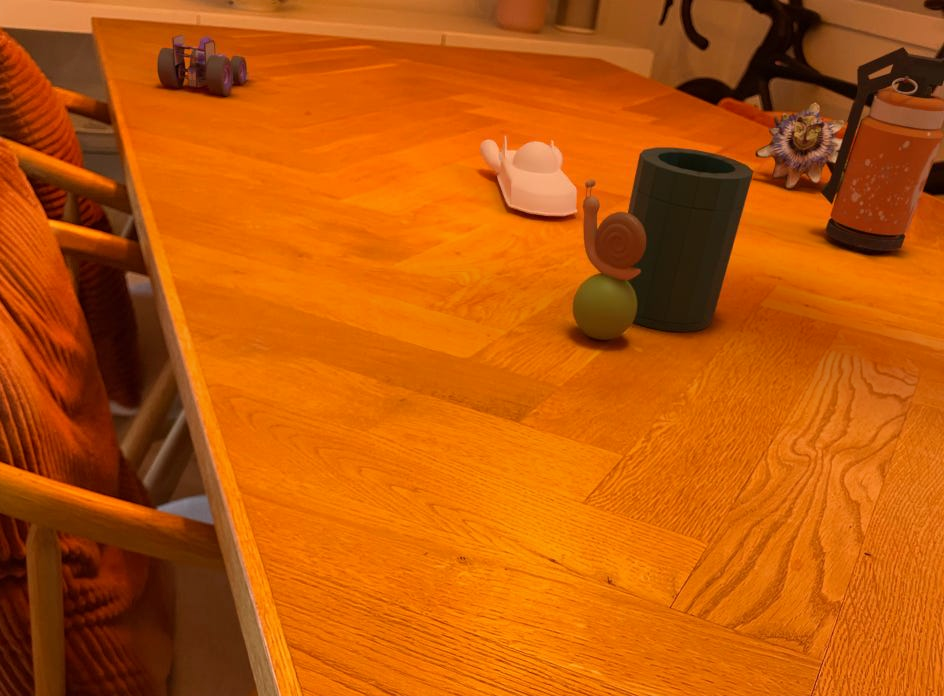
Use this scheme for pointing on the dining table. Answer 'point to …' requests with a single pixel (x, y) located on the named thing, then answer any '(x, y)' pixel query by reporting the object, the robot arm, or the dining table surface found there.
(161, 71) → the toy race car
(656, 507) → the dining table surface
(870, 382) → the dining table surface
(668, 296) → the jar
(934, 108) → the canister
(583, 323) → the snail figurine
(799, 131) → the passion flower
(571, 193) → the white domed toy
